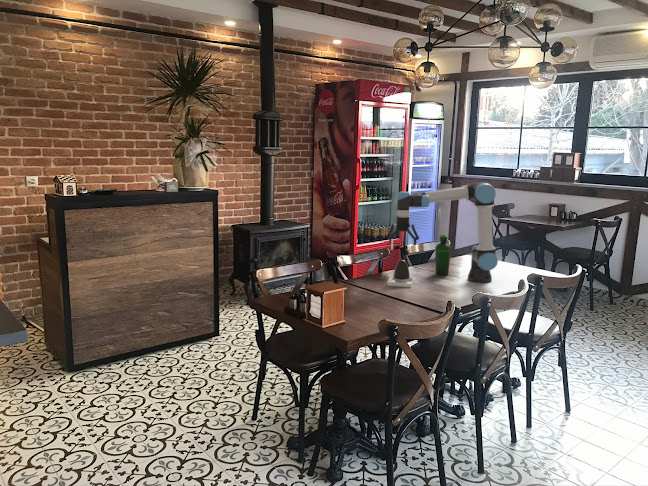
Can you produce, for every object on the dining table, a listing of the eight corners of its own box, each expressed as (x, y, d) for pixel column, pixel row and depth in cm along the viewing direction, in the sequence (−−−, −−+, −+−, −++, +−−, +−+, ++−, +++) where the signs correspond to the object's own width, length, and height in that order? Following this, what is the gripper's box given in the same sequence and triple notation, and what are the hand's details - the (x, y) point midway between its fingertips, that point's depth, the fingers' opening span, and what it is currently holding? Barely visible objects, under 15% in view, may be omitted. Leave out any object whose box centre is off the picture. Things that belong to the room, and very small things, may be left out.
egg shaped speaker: (408, 281, 339) (409, 258, 337) (409, 285, 329) (410, 261, 326) (393, 280, 340) (393, 257, 338) (393, 284, 330) (394, 261, 327)
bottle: (452, 273, 362) (454, 233, 357) (446, 276, 353) (448, 236, 348) (437, 271, 367) (439, 232, 362) (431, 274, 358) (433, 234, 353)
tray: (414, 281, 340) (414, 278, 339) (411, 287, 326) (411, 283, 325) (391, 280, 344) (391, 276, 344) (387, 285, 330) (387, 281, 330)
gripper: (424, 216, 327) (423, 249, 331) (384, 215, 334) (384, 247, 338) (422, 217, 320) (421, 252, 324) (382, 216, 327) (381, 249, 331)
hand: (402, 249), depth 331 cm, fingers open, 13 cm apart
